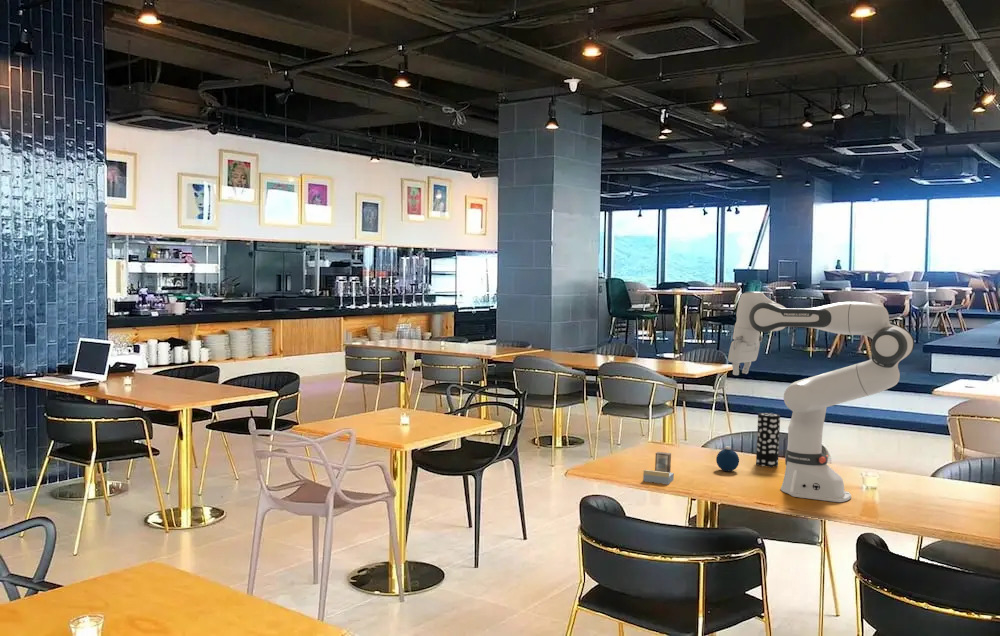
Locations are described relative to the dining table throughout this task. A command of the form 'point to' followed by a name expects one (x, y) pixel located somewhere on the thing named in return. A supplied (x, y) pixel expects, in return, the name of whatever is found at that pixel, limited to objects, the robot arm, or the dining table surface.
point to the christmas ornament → (727, 459)
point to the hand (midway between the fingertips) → (740, 374)
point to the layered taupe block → (663, 462)
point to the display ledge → (658, 476)
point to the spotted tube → (768, 439)
